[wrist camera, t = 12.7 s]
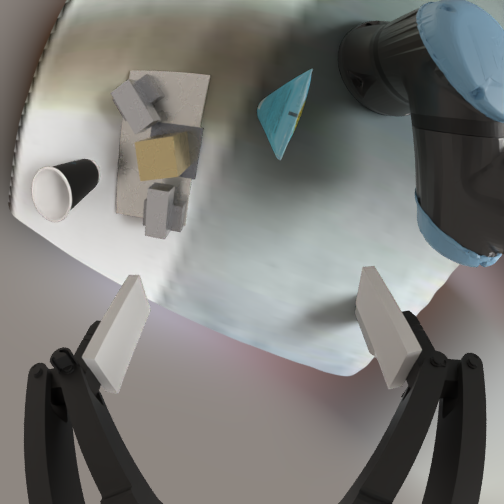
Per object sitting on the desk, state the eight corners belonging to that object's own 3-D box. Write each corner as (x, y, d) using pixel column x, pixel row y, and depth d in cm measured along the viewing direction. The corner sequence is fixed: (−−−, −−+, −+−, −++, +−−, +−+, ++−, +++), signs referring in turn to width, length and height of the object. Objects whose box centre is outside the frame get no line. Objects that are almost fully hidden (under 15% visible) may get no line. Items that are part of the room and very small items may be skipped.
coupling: (153, 135, 35) (134, 142, 29) (187, 131, 35) (173, 136, 29) (158, 168, 38) (140, 181, 31) (190, 165, 37) (178, 177, 31)
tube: (285, 140, 36) (312, 168, 20) (251, 132, 36) (248, 153, 19) (298, 91, 33) (337, 76, 16) (263, 82, 32) (271, 57, 16)
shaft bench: (126, 70, 31) (107, 67, 25) (215, 76, 32) (208, 70, 27) (113, 211, 42) (96, 226, 36) (189, 224, 43) (180, 242, 38)
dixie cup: (86, 140, 36) (43, 155, 26) (117, 171, 38) (80, 193, 29) (64, 175, 38) (24, 197, 29) (93, 204, 41) (57, 233, 31)
